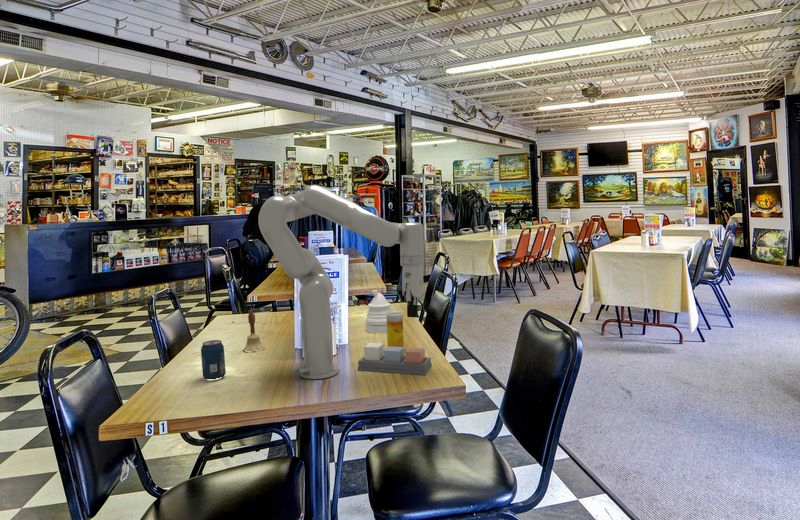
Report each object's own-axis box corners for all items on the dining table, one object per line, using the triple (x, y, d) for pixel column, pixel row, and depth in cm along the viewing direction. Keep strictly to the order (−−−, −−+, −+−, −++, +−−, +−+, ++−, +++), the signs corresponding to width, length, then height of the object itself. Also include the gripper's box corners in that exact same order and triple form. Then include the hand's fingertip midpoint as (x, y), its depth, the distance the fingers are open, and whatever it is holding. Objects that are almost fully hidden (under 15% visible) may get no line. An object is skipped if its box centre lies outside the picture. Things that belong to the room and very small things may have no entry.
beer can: (402, 353, 172) (400, 313, 171) (386, 352, 174) (384, 313, 172) (405, 348, 178) (403, 309, 177) (389, 347, 180) (388, 309, 178)
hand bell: (265, 350, 182) (263, 310, 180) (243, 353, 179) (240, 313, 177) (263, 345, 189) (261, 307, 188) (242, 348, 186) (239, 309, 185)
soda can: (203, 376, 154) (200, 341, 153) (225, 373, 156) (223, 338, 155) (202, 383, 147) (199, 346, 146) (226, 380, 150) (223, 343, 149)
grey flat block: (431, 365, 156) (431, 357, 156) (425, 375, 148) (424, 365, 147) (367, 361, 163) (367, 353, 163) (357, 370, 155) (357, 361, 154)
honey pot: (373, 335, 200) (372, 293, 198) (361, 329, 211) (359, 290, 210) (399, 330, 206) (398, 290, 204) (386, 325, 217) (385, 287, 216)
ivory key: (384, 356, 159) (383, 343, 159) (379, 360, 154) (378, 347, 154) (369, 355, 161) (369, 342, 160) (364, 359, 156) (363, 346, 155)
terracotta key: (425, 361, 155) (424, 348, 154) (421, 366, 150) (420, 352, 150) (410, 360, 156) (409, 347, 156) (405, 365, 152) (405, 351, 151)
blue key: (404, 360, 157) (403, 347, 157) (399, 364, 152) (399, 351, 152) (389, 359, 159) (389, 346, 158) (384, 363, 154) (384, 350, 153)
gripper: (417, 263, 142) (417, 322, 144) (428, 258, 156) (429, 312, 158) (393, 262, 144) (394, 321, 146) (407, 258, 158) (407, 311, 160)
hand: (412, 316), depth 152 cm, fingers closed
